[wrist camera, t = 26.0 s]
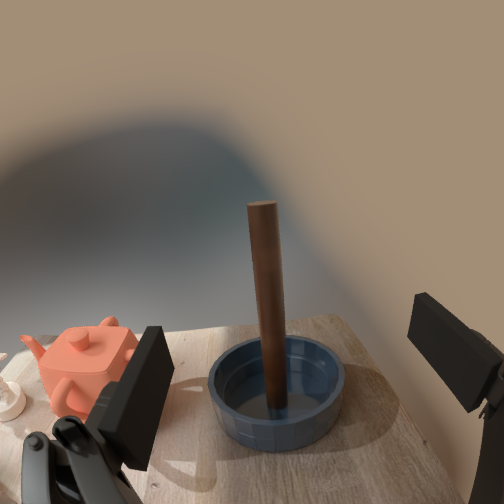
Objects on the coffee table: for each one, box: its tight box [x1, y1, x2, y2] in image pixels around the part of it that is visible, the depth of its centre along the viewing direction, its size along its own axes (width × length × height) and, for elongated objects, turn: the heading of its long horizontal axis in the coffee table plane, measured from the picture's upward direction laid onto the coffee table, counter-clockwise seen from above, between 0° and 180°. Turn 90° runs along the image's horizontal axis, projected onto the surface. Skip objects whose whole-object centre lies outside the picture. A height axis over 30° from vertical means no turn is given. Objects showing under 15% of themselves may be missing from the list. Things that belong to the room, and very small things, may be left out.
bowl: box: [208, 335, 345, 452], centre depth 30 cm, size 15×15×6 cm
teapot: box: [20, 316, 139, 424], centre depth 28 cm, size 17×16×13 cm
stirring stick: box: [247, 201, 288, 410], centre depth 27 cm, size 3×3×24 cm
